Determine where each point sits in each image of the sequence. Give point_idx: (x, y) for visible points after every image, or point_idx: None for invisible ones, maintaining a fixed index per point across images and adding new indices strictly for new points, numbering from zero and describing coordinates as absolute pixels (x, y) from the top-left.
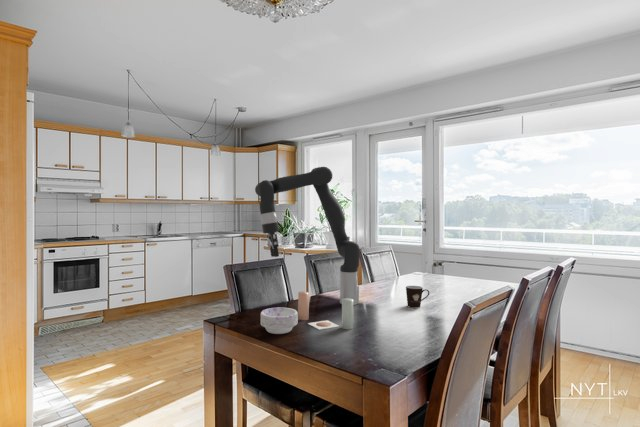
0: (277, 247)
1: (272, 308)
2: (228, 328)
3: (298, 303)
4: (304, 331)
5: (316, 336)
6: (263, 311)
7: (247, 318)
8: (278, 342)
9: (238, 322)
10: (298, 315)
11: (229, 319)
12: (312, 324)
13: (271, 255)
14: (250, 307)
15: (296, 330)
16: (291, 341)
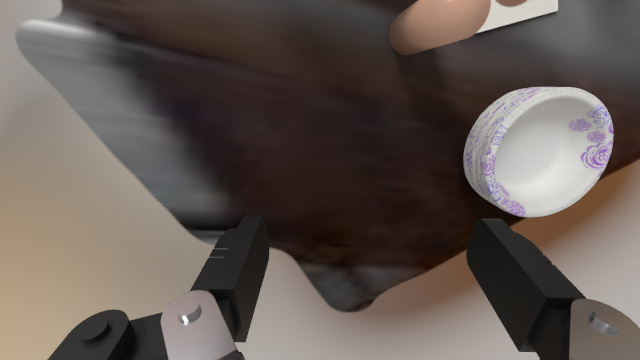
0: (614, 319)
1: (494, 174)
2: (429, 268)
3: (433, 47)
4: (545, 68)
5: (607, 41)
6: (519, 208)
7: (347, 219)
8: None
9: (382, 244)
10: (414, 53)
11: (344, 265)
12: (498, 19)
13: (266, 265)
14: (204, 201)
15: None
16: None
